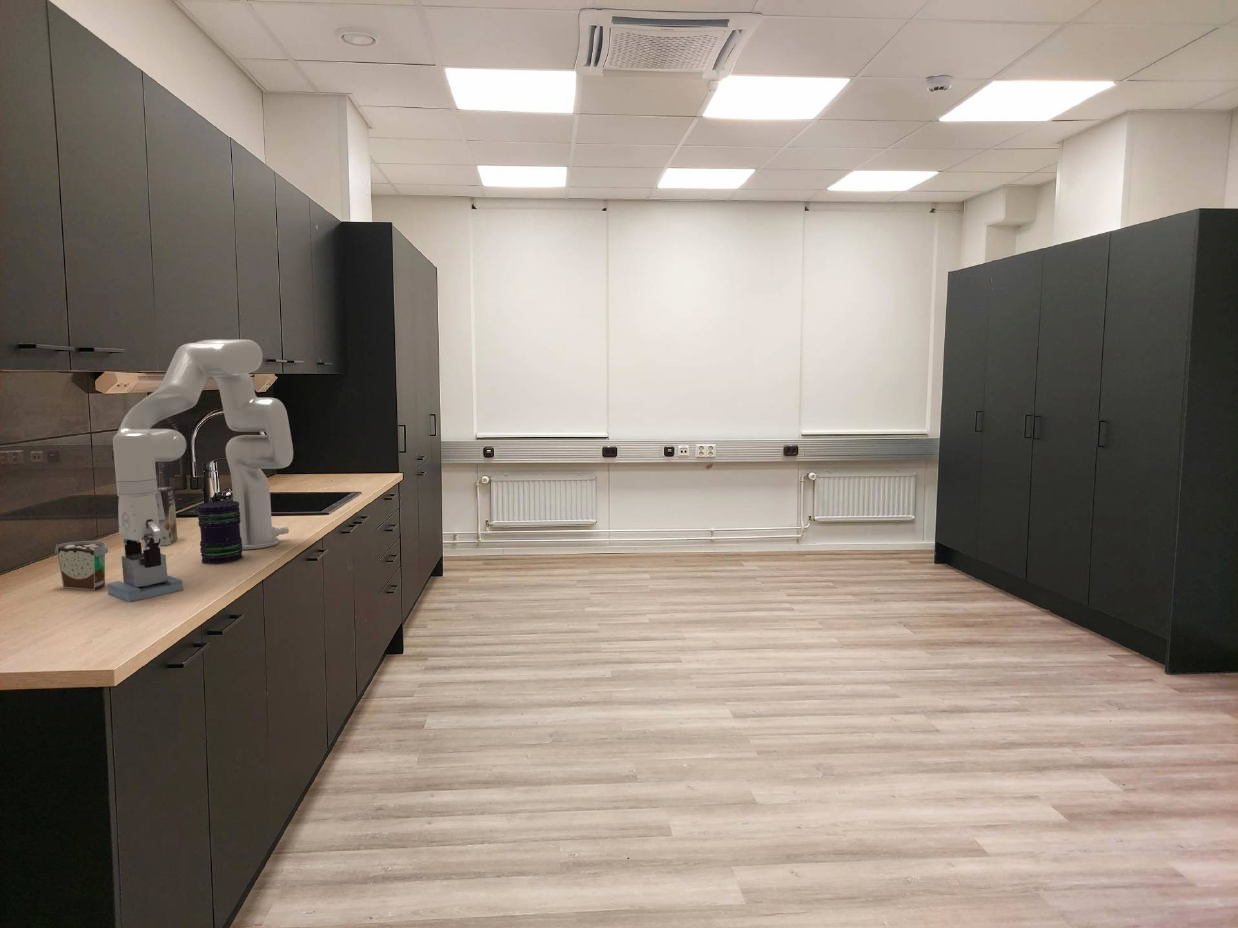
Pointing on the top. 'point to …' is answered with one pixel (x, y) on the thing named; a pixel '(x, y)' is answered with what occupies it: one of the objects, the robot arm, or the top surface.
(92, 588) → the food container
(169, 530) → the coffee box
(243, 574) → the top surface
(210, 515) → the dark blue barrel
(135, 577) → the grey hollow block
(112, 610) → the top surface
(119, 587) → the shaft block
